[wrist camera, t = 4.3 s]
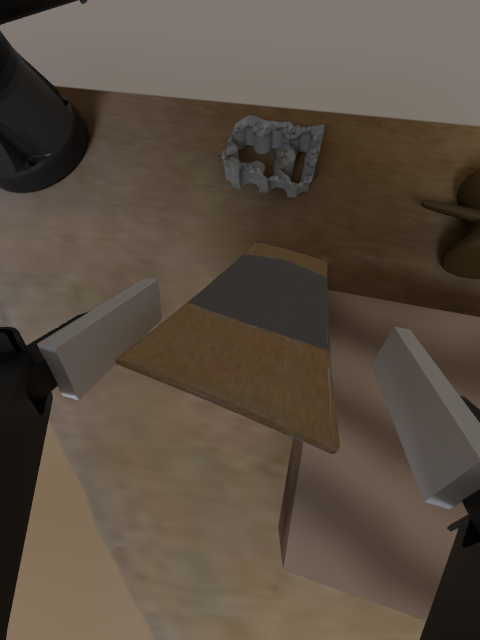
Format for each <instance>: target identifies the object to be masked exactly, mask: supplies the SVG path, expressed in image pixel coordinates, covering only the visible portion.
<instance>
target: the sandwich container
mask: <svg viewBox="0 0 480 640" xmlns="http://www.w3.org/2000/svg"><path fill="white" fill-rule="evenodd" d="M327 267H328V262H327V261H325V260H322V259H319V258H316V257H312V256H309V255H306V254H303V253H300V252H296V251H293V250H289V249H285V248H281V247H277V246H273V245H269V244H264V243H260V242H256V243H255V244H254V245H253V246H252V247H251V248H250V249H249V250H248V251H247V252H246V253H245V254H244V255H243V256H241V257H240V258H239V259H238V260H237V261H236V262H235V263H234V264H233V265H231V266H230V267H229V268H228V269H227V270H225V271H224V272H223V273H222V274H221V275H219V276H218V277H217V278H216V279H215V280H214V281H212V282H211V283H210V284H209V285H208V286H207V287H206V288H205V289H203V290H202V291H201V292H200V293H199V294H197V295H196V296H195V297H194V298H193V299H191V300H190V301H189V302H188V303H187V304H185V305H184V306H183V307H182V308H180V309H179V310H178V311H177V312H175V313H174V314H173V315H172V316H170V317H169V318H168V319H167V320H165V321H164V322H163V323H162V324H160V325H159V326H158V327H157V328H155V329H154V330H153V331H152V332H150V333H149V334H148V335H146V336H145V337H144V338H142V339H141V340H140V341H138V342H137V343H136V344H135V345H133V346H132V347H131V348H129V349H128V350H127V351H125V352H124V353H123V354H121V355H120V356H119V357H118V358H117V359H116V360H115V363H116V364H118V365H121V366H123V367H126V368H128V369H131V370H133V371H135V372H138V373H140V374H143V375H145V376H148V377H150V378H153V379H155V380H158V381H160V382H163V383H165V384H168V385H170V386H173V387H175V388H178V389H180V390H183V391H185V392H188V393H190V394H193V395H195V396H198V397H200V398H202V399H205V400H207V401H210V402H212V403H215V404H217V405H219V406H222V407H224V408H226V409H229V410H231V411H233V412H236V413H238V414H240V415H243V416H245V417H247V418H249V419H252V420H254V421H256V422H259V423H261V424H263V425H266V426H268V427H270V428H272V429H275V430H277V431H279V432H282V433H284V434H286V435H289V436H291V437H293V438H296V439H298V440H300V441H302V442H305V443H307V444H309V445H312V446H314V447H316V448H319V449H321V450H323V451H325V452H328V453H330V454H335V453H336V452H337V451H338V450H339V447H340V439H339V429H338V420H337V410H336V401H335V391H334V382H333V373H332V363H331V354H330V334H329V306H328V281H327Z"/></svg>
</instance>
